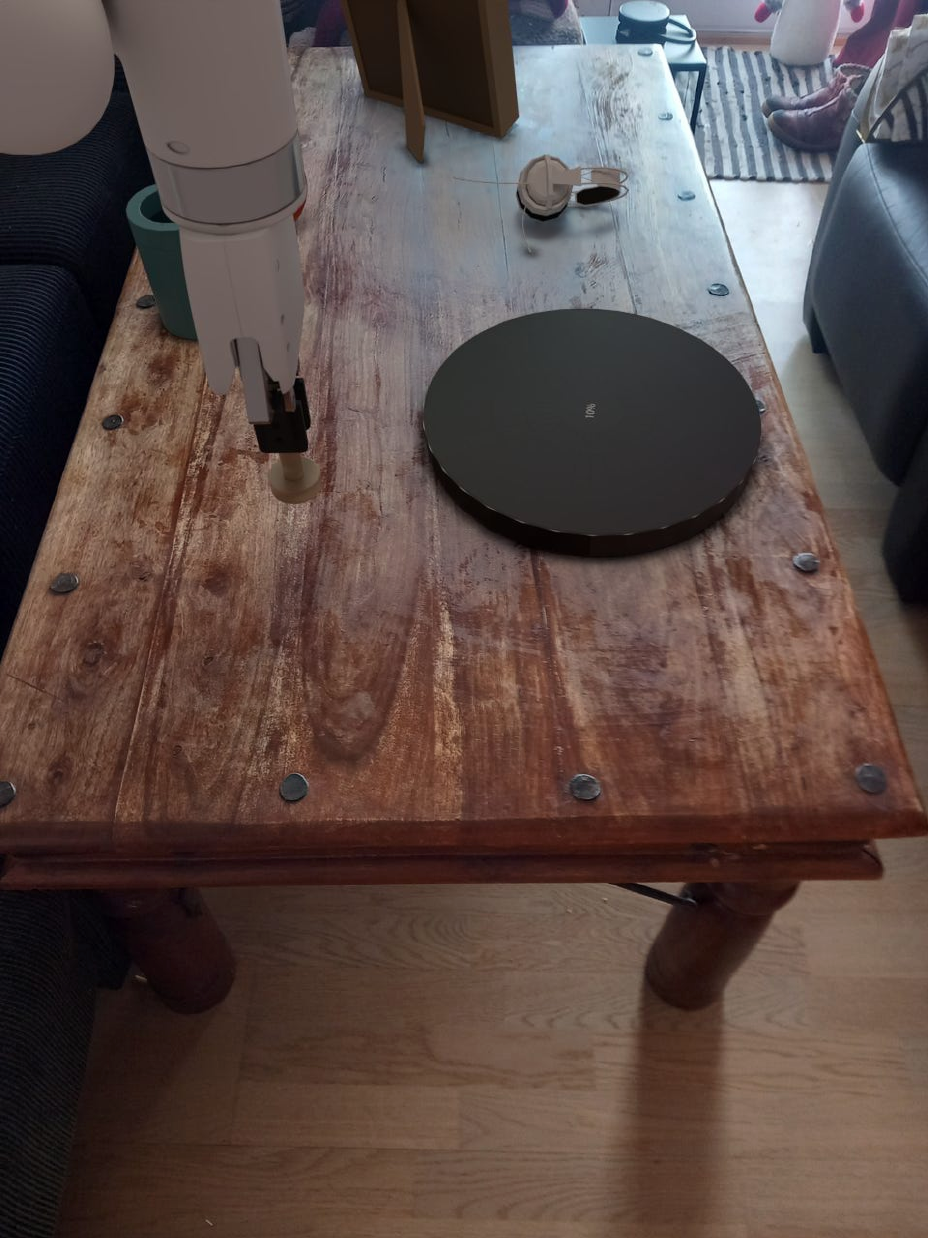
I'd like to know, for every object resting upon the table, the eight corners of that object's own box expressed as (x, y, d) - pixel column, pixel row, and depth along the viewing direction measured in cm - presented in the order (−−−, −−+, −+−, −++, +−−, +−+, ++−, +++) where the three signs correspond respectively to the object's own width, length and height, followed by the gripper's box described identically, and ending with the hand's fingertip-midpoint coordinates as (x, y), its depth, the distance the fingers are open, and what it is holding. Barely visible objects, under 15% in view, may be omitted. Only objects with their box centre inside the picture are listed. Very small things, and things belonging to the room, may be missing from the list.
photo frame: (383, 83, 126) (364, -147, 106) (519, 124, 118) (526, -115, 98) (315, 129, 119) (281, -109, 98) (455, 176, 111) (448, -70, 91)
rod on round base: (268, 504, 64) (239, 391, 56) (273, 468, 66) (246, 353, 58) (320, 503, 64) (299, 390, 56) (323, 467, 66) (303, 352, 58)
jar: (155, 341, 94) (117, 232, 84) (169, 288, 99) (135, 179, 89) (243, 338, 94) (215, 229, 84) (253, 285, 99) (228, 177, 89)
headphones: (445, 206, 107) (614, 199, 108) (454, 257, 101) (632, 249, 102) (445, 135, 100) (626, 128, 101) (454, 186, 94) (645, 178, 96)
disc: (429, 333, 94) (427, 307, 91) (724, 329, 93) (731, 304, 91) (419, 560, 76) (417, 536, 74) (783, 557, 75) (793, 533, 73)
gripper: (179, 96, 51) (244, 365, 66) (125, 256, 42) (214, 527, 57) (314, 94, 51) (348, 363, 66) (289, 254, 42) (335, 524, 57)
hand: (286, 437), depth 61 cm, fingers closed on rod on round base, 1 cm apart
